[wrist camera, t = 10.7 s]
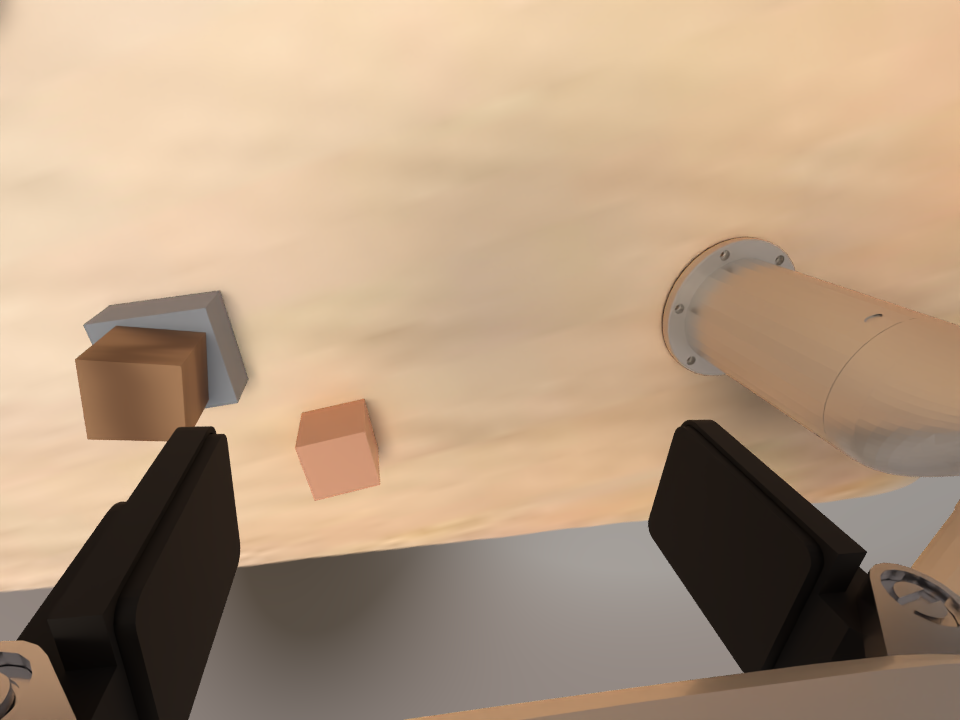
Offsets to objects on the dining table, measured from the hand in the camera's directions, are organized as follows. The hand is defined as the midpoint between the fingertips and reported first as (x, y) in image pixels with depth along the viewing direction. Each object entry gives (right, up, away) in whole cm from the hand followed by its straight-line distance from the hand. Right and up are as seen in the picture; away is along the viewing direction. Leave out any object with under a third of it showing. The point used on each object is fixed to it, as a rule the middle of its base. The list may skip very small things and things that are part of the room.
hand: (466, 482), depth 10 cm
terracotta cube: (-11, -3, +31) cm, 33 cm away
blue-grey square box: (-21, +4, +25) cm, 33 cm away
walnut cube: (-20, +2, +22) cm, 30 cm away
